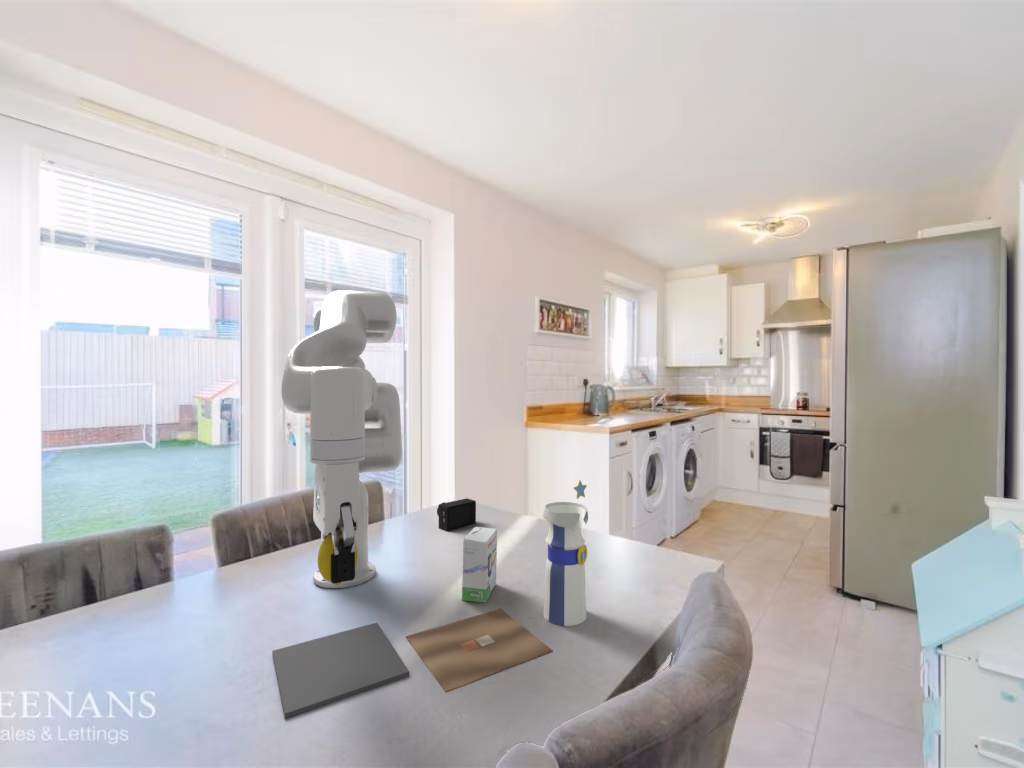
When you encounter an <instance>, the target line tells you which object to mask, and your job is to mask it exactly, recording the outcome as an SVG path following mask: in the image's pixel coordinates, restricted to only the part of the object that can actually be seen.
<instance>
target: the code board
mask: <svg viewBox="0 0 1024 768" xmlns="http://www.w3.org/2000/svg"><path fill="white" fill-rule="evenodd" d="M405 639H407V641H408V643H409V644H410V645H411V647H412V648H413V649H414V651H415V652H416V653H417V655H418V656H419V657H420V659H421V661H422V662H423V663H424V664H425V666H426V667H427V668H428V670H429V671H430V672H431V674H432V675H433V676H434V678H435V680H436V681H437V682H438V684H439V685H440V686H441V688H442V689H443V690H444V692H445V693H448V692H450V691H453V690H455V689H458V688H460V687H463V686H466V685H469V684H473V682H476V681H480V680H481V679H485V678H487V677H490V676H493V675H495V674H498V673H500V672H503V671H505V670H509V669H511V668H513V667H516V666H518V665H522V664H524V663H526V662H530V661H531V660H535V659H537V658H539V657H543V656H545V655H547V654H550V653H553V652H554V651H553V649H552V648H551V647H549V646H548V645H547V644H546V643H544V642H543V641H541V640H540V638H538V637H537V636H536V635H534V634H533V633H532V632H531V631H529V630H528V629H527V628H526V627H524V626H523V625H522V624H521V623H519V622H518V621H517V620H516V619H514V618H513V617H512V616H511V615H509V614H508V613H507V612H506V611H504V609H503V608H496V609H493V610H490V611H487V612H484V613H479V614H477V615H473V616H470V617H466V618H464V619H460V620H457V621H453V622H449V623H446V624H443V625H439V626H436V627H433V628H429V629H426V630H422V631H419V632H416V633H413V634H409V635H406V636H405Z"/></svg>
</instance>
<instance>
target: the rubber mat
mask: <svg viewBox="0 0 1024 768" xmlns="http://www.w3.org/2000/svg"><path fill="white" fill-rule="evenodd" d="M271 655H272V660H273V665H274V669H275V674H276V681H277V685H278V690H279V695H280V701H281V706H282V710H283V715H284V719H287V718H291V717H292V716H296V715H299V714H301V713H305V712H307V711H310V710H313V709H316V708H319V707H322V706H324V705H327V704H331V703H333V702H336V701H339V700H343V699H346V698H348V697H351V696H353V695H356V694H359V693H362V692H366V691H368V690H371V689H374V688H377V687H380V686H383V685H385V684H388V683H392V682H395V681H398V680H401V679H403V678H406V677H409V676H410V671H409V669H408V667H407V666H406V664H405V662H404V661H403V660H402V658H401V657H400V655H399V654H398V652H397V651H396V649H395V648H394V646H393V645H392V643H391V642H390V640H389V638H388V637H387V635H386V634H385V633H384V631H383V629H382V628H381V626H380V625H379V623H378V622H374V623H370V624H366V625H363V626H359V627H355V628H351V629H347V630H344V631H340V632H337V633H333V634H330V635H325V636H321V637H317V638H315V639H311V640H307V641H304V642H299V643H296V644H292V645H288V646H284V647H281V648H277V649H273V650H272V654H271Z"/></svg>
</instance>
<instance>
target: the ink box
mask: <svg viewBox="0 0 1024 768" xmlns="http://www.w3.org/2000/svg"><path fill="white" fill-rule="evenodd" d="M462 543H463V546H462V547H463V548H462V552H463V553H462V576H461V577H462V578H461V579H462V580H461V583H462V584H461V600H462V601H468V602H477V603H486V602H487V600H488V599H489V597H490V595H491V593H492V591H493V590H494V587H495V586H496V584H497V561H498V560H497V559H498V557H497V554H498V552H497V551H498V549H497V548H498V528H490V527H482V526H475V527H473V528H472V530H471V531H470V532H469V533H467V534H466V536H465V537H464V538H463V542H462Z"/></svg>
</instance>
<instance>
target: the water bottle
mask: <svg viewBox="0 0 1024 768" xmlns="http://www.w3.org/2000/svg"><path fill="white" fill-rule="evenodd" d="M587 486H588V485H587V484H583V483H582V481H581V479H579V480H578V482H577V485H575V486H574V487H573V489H574V491H576V500H578V499H580V498H581V497H583V498H586V493H585V490H586V489H587ZM588 511H589V510H588V508H587V506H586V505H583V504H582V503H577V502H571V501H556V502H555V501H554V502H550V503H547V504H546V505H544V509H543V512H542V517H543V519H544V520H545V521H547V522H548V528H549V529H548V535H547V536H546V538H545V543H546V544H547V558H546V561H545V567H544V599H543V600H544V601H543V613H542V614H543V617H544V619H545V620H546V621H548V622H550V623H551V624H553V625H557V626H562V627H563V626H564V627H570V626H571V627H572V626H577V625H580V624H582V623H584V622H585V621H586V619H587V601H586V600H587V599H586V567H585V566H586V565H585V563H586V562H587V557H588V548H587V545H586V544H585V543H586V542H585V541H586V540H585V539H584V537H583V535H582V525H583V523H585V525H587V523H588V520H589V513H588Z"/></svg>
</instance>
